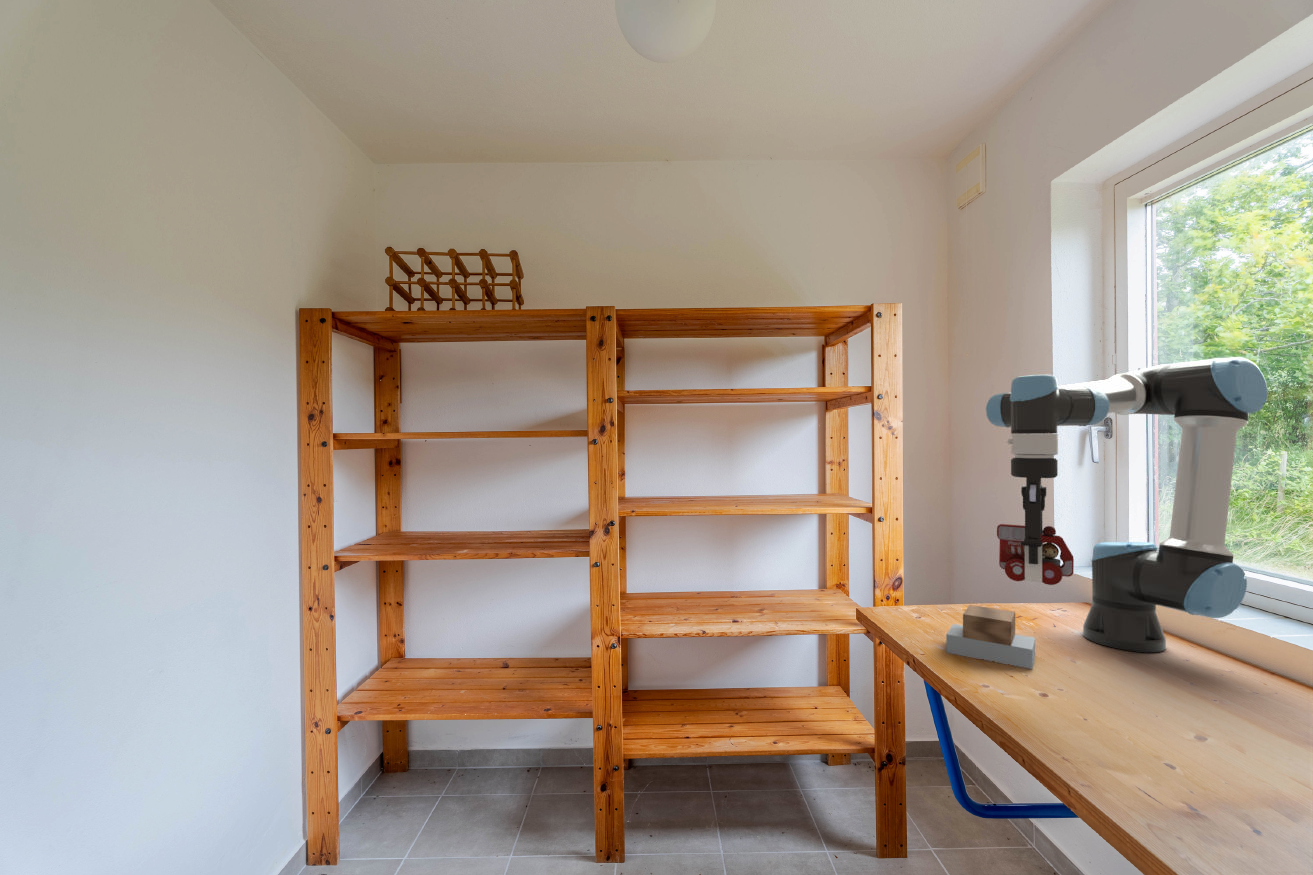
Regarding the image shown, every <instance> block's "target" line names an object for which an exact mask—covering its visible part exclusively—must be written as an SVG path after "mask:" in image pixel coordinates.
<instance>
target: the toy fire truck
mask: <svg viewBox="0 0 1313 875" xmlns="http://www.w3.org/2000/svg"><path fill="white" fill-rule="evenodd" d="M1042 530H1043V534H1042V533H1041V540H1042V543H1043V545H1042V556H1043V557H1042V582H1041V583H1043V584H1044V585H1048V586H1054V585H1057V584H1058V583H1061V581H1062V580H1063V577H1067V578H1068V577H1072V576H1073V574H1074V570H1075V569H1074V566H1075V565H1074V564H1075V563H1074V555H1073V554H1072V552H1071V551H1070V548H1069V547H1068V545H1067V544H1066V541H1065V540H1064V538H1063V537H1062V536H1060V535H1057V531H1056V528H1055V527H1053V526H1051V525H1046V526H1045V527H1044V528H1042ZM996 537H997V539H998V540H999V552H998V553H999V558H998V559H999V562H998V563H999V567H1000V568H1001V569H1002V570H1004V572H1005V575H1006V576H1007V578H1009V579H1010V580H1012V581H1014V582H1023V581H1026V580H1025V546H1024V545H1021V541H1022V542H1024V539H1025V525H1021V524H1008V523H1007V524H1006V523H1000V524H998V525H997V527H996ZM1031 538H1033V537H1031ZM1059 553H1060V555H1059ZM1058 556H1059V558H1057V557H1058ZM1061 561H1062V564H1061Z"/></svg>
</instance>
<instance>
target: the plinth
mask: <svg viewBox="0 0 1313 875" xmlns="http://www.w3.org/2000/svg"><path fill="white" fill-rule="evenodd" d="M945 637H946V640H945V642H946V647H945V648H946V650H945V651H946V653H948V654H953V655H957V656H962V657H963V656H964V657H968V658H972V659H978V660H982V659H984V660H983V661H987V660H988V662H992V661H995V662H994V663H998V662H999V664H1003V663H1004V664H1003V665H1008V664H1010V665H1009V666H1013V665H1014V667H1018V666H1019V667H1020V668H1024V669H1028V668H1029V670H1033V669H1034V664H1035V659H1036V637H1033V636H1029V635H1027V636H1026V635H1021V634H1016V633H1015V636H1014V639H1013V642H1012V645H1011V646H1009V645H1003V644H997V643H992V642H986V641H981V640H975V639H970V638H964V637H963V624H957V623H953V624H952V626H951V627H950V629H949V630H948V631H947V633H946V636H945Z"/></svg>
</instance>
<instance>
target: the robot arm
mask: <svg viewBox="0 0 1313 875" xmlns="http://www.w3.org/2000/svg"><path fill="white" fill-rule="evenodd" d="M1268 392H1269V391H1268V385H1267V380H1266V378H1265V376H1264V374H1263V372H1262V371H1261V369H1260V368H1259V367H1258V365H1257V364H1256V363H1254V362H1253V361H1251V360H1249V359H1248V358H1245V357H1238V356H1236V357H1215V358H1211V359H1203V360H1195V361H1186V362H1176V363H1165V364H1159V365H1155V366H1150V367H1146V368H1142V369H1138V370H1135V371H1134V370H1133V371H1129V372H1124V373H1117V374H1115V375H1113V376H1111V377H1110V378H1108V379H1104V380H1096V381H1090V382H1089V381H1088V382H1081V383H1075V384H1073V383H1072V384H1067V385H1060V386H1059V384H1058V379H1057V377H1056V376H1055V375H1052V374H1033V375H1030V374H1029V375H1023V376H1022V375H1020V376H1017V377H1014V378H1013V379H1012V381H1011V386H1010V392H1003V393H997V394H994V395H992V396H991V397H990V398H989V399H988V401H987V403H986V406H985V411H986V417H987V419H988V421H989V422H990V423H991V424H993V425H994V426H995V427H1000V428H1003V427H1004V428H1010V433H1011V436H1010V437H1011V438H1008V439H1007V441H1006V442H1007V444H1008V445H1011V447H1010V452H1011V454H1012V456H1013V455H1014V457H1012V458H1011V459H1010V475H1011V476H1012V477H1015V478H1025V479H1026V480H1025V481H1026V482H1025V483H1026V484H1025V485H1022V486H1021V491H1020V492H1021V496H1022V508H1023V510H1024V526H1025V539H1024V542H1022V541H1021V545H1024V546H1025V580H1024V581H1027V582H1038V583H1043V582H1042V557H1043V556H1042V545H1043V544H1044V543H1042V540H1041V533H1042V534H1043V511H1045V508H1046V497H1047V486H1043V485H1042V479H1054V478H1057V477H1058V473H1059V472H1058V470H1059V469H1058V464H1059V463H1058V459H1057V458H1056V457H1055V456H1057V455H1058V454H1059V443H1058V442H1059V441H1058V440H1059V438H1058V437H1059V434H1058V427H1064V426H1065V427H1069V426H1073V427H1074V426H1076V427H1077V426H1078V427H1087V426H1095V425H1098V424H1099V423H1101V422H1103V421H1104V420H1105V419H1106V417H1107V416H1108V414H1112V413H1114V414H1117V415H1120V416H1127V415H1138V414H1139V415H1161V416H1163V415H1164V416H1170V415H1171V416H1174V418H1173V420H1174V422H1175V423H1176V424H1177V425H1178V426H1179V427H1181V435H1180V444H1179V452H1178V453H1179V454H1178V460H1177V461H1178V462H1177V468H1176V469H1177V471H1176V480H1175V486H1174V497H1173V505H1172V512H1171V513H1172V515H1171V522H1170V529H1169V530H1170V531H1169V532H1170V533H1169V537H1168V538H1167V539H1165V540H1163V541H1161V542H1160V543H1159V546H1158V547H1157V545H1156V544H1155V543H1154V542H1147V541H1146V542H1143V541H1106V542H1105V541H1104V542H1098V543H1097V544H1096V543H1095V545H1094V546H1093V548H1092V559H1091V575H1092V576H1091V578H1092V579H1091V580H1092V581H1091V582H1092V583H1091V584H1092V586H1091V587H1092V590H1091V592H1092V594H1091V595H1092V601H1091V602H1092V603H1091V606H1090V608H1089V611H1088V614H1086V615H1087V616H1086V618H1085V620H1084V623H1083V626H1082V635H1083V637H1084V638H1086V639H1087V640H1089V641H1091V642H1093V643H1096V644H1099V645H1102V646H1105V647H1109V648H1113V649H1119V650H1122V651H1130V652H1137V653H1138V652H1139V653H1160V652H1163V651H1165V650H1166V649H1167V639H1166V636H1165V632H1164V631H1163V628H1162V625H1161V623H1160V620H1159V617H1158V615H1157V611H1156V610H1157V609H1156V607H1157V606H1160V607H1164V608H1167V609H1172V610H1176V611H1180V612H1182V613H1183V612H1184V613H1188V614H1189V615H1192V616H1200V617H1206V618H1211V619H1220V618H1221V619H1222V618H1225V617H1227V616H1230V615H1231V614H1233V612H1234V611H1236V610H1237V609H1238V608H1239V606H1240V605H1241V603H1242V601H1243V600H1244V597H1245V595H1246V592H1247V589H1248V588H1247V587H1248V586H1247V585H1248V583H1247V582H1248V581H1247V577H1246V576H1245V575H1246V573H1245V571H1244V569H1243V568H1242V567H1240V566H1239V565H1237V564H1235V563H1234V553H1232V552H1231V551H1230V550H1229V549H1228V548H1227V547H1226V545H1225V542H1226V534H1227V524H1228V515H1229V507H1230V506H1229V505H1230V497H1231V488H1232V479H1233V470H1234V462H1235V453H1236V452H1235V451H1236V442H1237V436H1238V435H1237V434H1238V432H1239V430H1241V429H1242V428H1244V427H1245V426H1247V425H1248V424H1249V418H1250V417H1249V416H1250V414H1254V413H1257V412H1260V411H1261V410H1262V409H1263V408H1264V406H1265V404H1266V403H1267V401H1268ZM1031 537H1033V538H1031Z"/></svg>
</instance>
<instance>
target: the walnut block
mask: <svg viewBox="0 0 1313 875" xmlns="http://www.w3.org/2000/svg"><path fill="white" fill-rule="evenodd" d="M962 625H963V637H964V638H970V639H975V640H981V641H986V642H992V643H997V644H1003V645H1009V646H1011V645H1012V642H1013V639H1014V636H1015V634H1016V611H1013V610H1006V609H1002V608H1001V609H1000V608H992V607H988V606H979V605H972V604H969V605H968V606H967V608H966V609H965V611H964V612H963V613H962Z"/></svg>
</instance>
